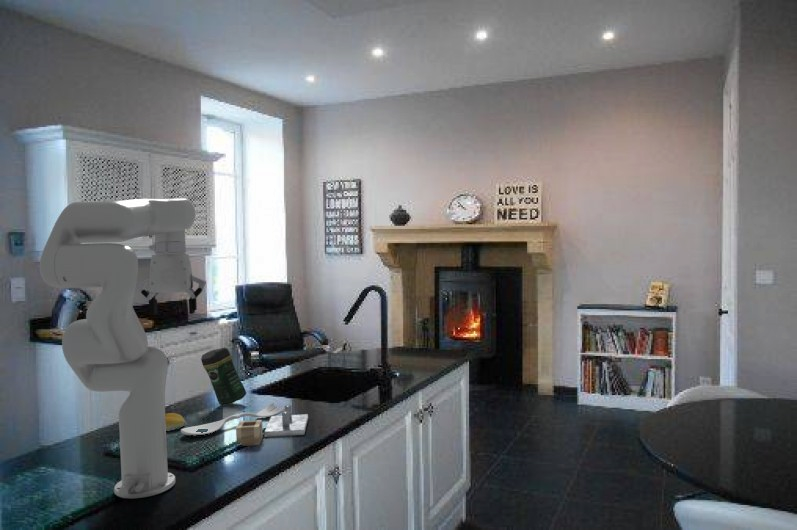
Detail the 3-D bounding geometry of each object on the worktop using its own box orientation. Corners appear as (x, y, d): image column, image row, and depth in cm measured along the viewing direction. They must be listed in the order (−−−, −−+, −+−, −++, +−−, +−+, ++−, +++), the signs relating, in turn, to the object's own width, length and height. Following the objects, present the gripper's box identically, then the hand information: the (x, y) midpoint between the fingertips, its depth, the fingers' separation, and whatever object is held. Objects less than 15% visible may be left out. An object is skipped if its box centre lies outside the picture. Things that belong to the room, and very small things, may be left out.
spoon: (288, 417, 183) (288, 406, 183) (189, 443, 161) (189, 431, 161) (273, 412, 190) (273, 401, 190) (176, 436, 168) (175, 424, 168)
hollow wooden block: (259, 444, 158) (258, 426, 157) (236, 446, 157) (236, 427, 157) (262, 437, 164) (262, 419, 163) (240, 438, 163) (240, 421, 163)
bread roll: (155, 434, 170) (154, 420, 169) (156, 425, 178) (155, 412, 178) (185, 430, 172) (185, 417, 172) (185, 422, 181) (184, 409, 181)
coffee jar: (251, 393, 199) (230, 343, 197) (234, 404, 193) (213, 353, 190) (232, 396, 204) (212, 347, 202) (216, 407, 198) (194, 357, 196)
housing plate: (304, 434, 165) (303, 415, 165) (264, 436, 164) (264, 417, 164) (308, 419, 180) (307, 401, 180) (271, 420, 179) (271, 403, 179)
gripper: (131, 250, 149) (134, 317, 150) (200, 248, 151) (203, 314, 151) (141, 249, 156) (144, 313, 157) (207, 247, 158) (210, 311, 159)
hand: (173, 313), depth 154 cm, fingers open, 9 cm apart
